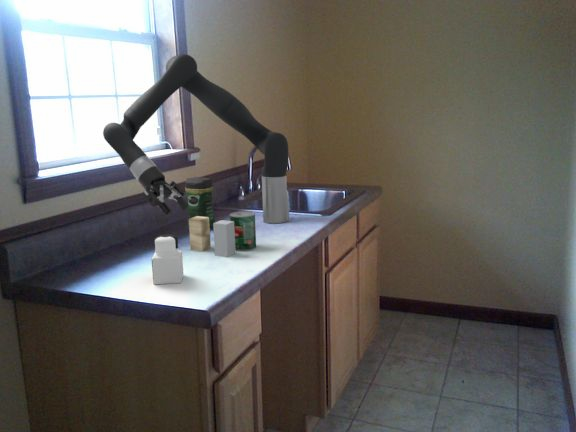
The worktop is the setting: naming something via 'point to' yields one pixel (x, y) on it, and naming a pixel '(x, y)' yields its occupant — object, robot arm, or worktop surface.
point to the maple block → (199, 233)
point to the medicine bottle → (167, 260)
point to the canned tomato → (244, 230)
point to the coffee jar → (200, 198)
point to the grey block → (224, 238)
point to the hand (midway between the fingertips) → (178, 210)
